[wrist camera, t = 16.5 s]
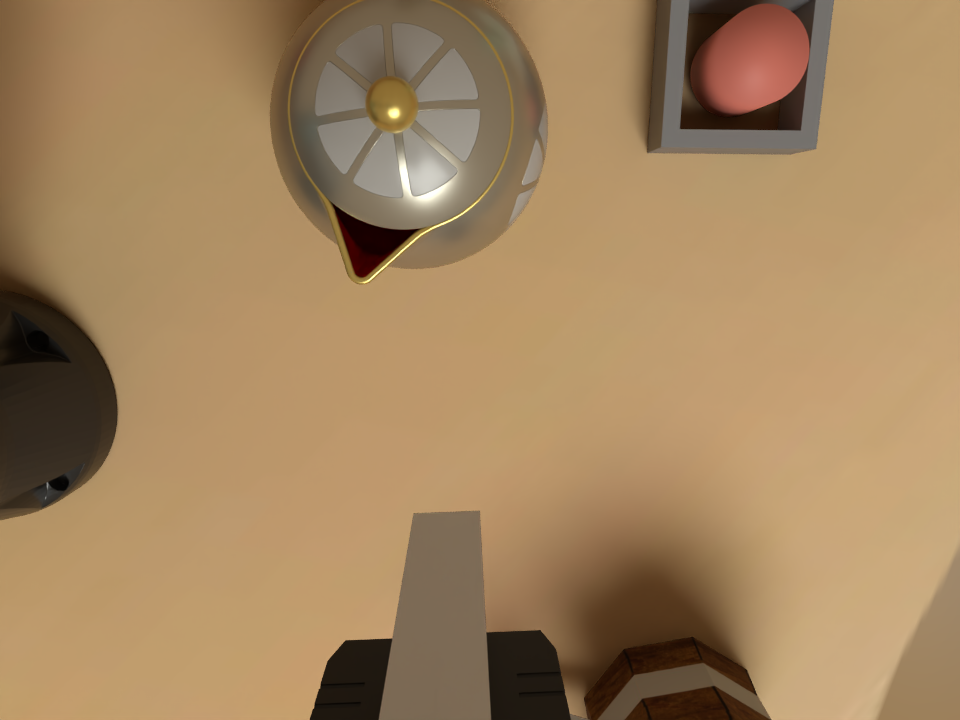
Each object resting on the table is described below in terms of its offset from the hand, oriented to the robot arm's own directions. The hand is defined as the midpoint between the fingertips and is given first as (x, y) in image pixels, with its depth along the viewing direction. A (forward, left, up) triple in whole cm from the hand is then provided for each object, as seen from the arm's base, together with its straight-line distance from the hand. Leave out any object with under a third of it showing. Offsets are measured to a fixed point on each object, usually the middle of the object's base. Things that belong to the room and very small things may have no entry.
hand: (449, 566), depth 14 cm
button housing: (+16, +17, -28) cm, 36 cm away
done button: (+16, +17, -27) cm, 35 cm away
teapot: (-2, +14, -28) cm, 31 cm away
